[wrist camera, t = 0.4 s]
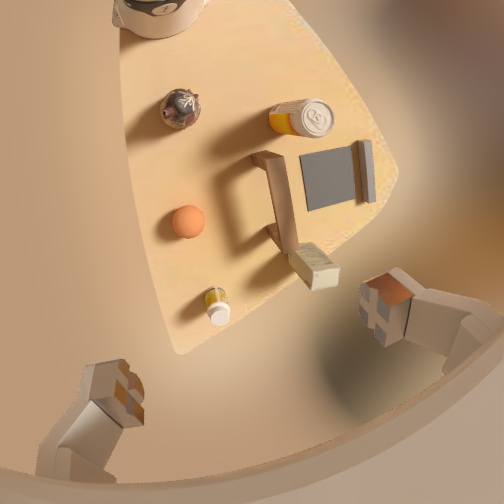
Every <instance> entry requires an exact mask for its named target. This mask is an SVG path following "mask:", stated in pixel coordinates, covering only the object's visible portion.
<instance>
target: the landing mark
mask: <svg viewBox="0 0 504 504" xmlns="http://www.w3.org/2000/svg"><path fill="white" fill-rule="evenodd" d="M300 160H301V166H302V172H303V178H304V184H305V191H306V198H307V204H308V211H312V210H315V209H319V208H323V207H326V206H330V205H333V204H337V203H341V202H344V201H348V200H352V199H355V198H356V192H355V180H354V170H353V160H352V152H351V146H348V147H342V148H337V149H331V150H326V151H321V152H316V153H311V154H306V155H301V156H300Z"/></svg>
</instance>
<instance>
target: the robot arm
mask: <svg viewBox="0 0 504 504" xmlns="http://www.w3.org/2000/svg"><path fill="white" fill-rule="evenodd" d="M211 2H212V0H114V8H113V19H112V23H113V25H114V26H116V27H120V28H127V29H129V30H130V31H132V32H133V33H135V34H136V35H139V36H141V37H145V38H152V39H157V38H165V37H169V36H173V35H175V34H178V33H180V32H182V31H183V30H185V29H187V28H188V27H189V26H190V25H191V24H192V23H193V22H194V21H195V20H196V19H197V17H198V16H199V14H200V12H201V10H202V9H203V8H204V7H205V6H207V5H208V4H209V3H211ZM118 15H119V17H117V16H118ZM359 293H360V294H361V295H362V296H363V297H362V299H361V300H360V302H359V312H360V315H361V318H362V320H363V322H364V323H365V324H366V326H367V327H369V328H372V329H375V334H374V335H375V336H376V338H377V339H378V340H379V341H380V342H381V344H382V345H383V346H384V347H386V346H388V345H391V344H393V343H394V342H397V341H398V340H400V339H402V338H405V339H406V340H408V341H411V342H413V343H415V344H418V345H420V346H422V347H425V348H427V349H429V350H432V351H434V352H436V353H439V354H441V355H443V356H446V357H447V358H446V360H445V363H444V365H443V368H442V372H443V373H444V374H445V376H443V377H442V378H441V379H439V380H438V381H436V382H435V383H434V384H432V385H431V386H429V387H428V388H426V389H425V390H423V391H422V392H420V393H419V394H417V395H415V396H414V397H412V398H411V399H409V400H408V401H406V402H404V403H403V404H401V405H399V406H398V407H396V408H394V409H392V410H391V411H389V412H387V413H385V414H384V415H382V416H380V417H378V418H376V419H374V420H373V421H370V422H368V423H367V424H364V425H362V426H360V427H358V428H356V429H354V430H352V431H350V432H348V433H346V434H344V435H341V436H339V437H337V438H334V439H332V440H330V441H327V442H325V443H322V444H320V445H318V446H315V447H312V448H309V449H307V450H304V451H301V452H298V453H295V454H293V455H290V456H287V457H283V458H281V459H277V460H274V461H271V462H267V463H264V464H261V465H256V466H252V467H249V468H244V469H241V470H236V471H231V472H227V473H222V474H217V475H211V476H205V477H199V478H192V479H185V480H176V481H167V482H154V483H133V484H131V483H130V484H116V478H115V477H114V476H113V475H112V474H110V473H108V472H106V471H105V470H104V467H105V466H106V463H107V461H108V460H109V458H110V456H111V454H112V451H113V450H114V448H115V446H116V444H117V442H118V440H119V438H120V436H121V434H122V432H123V429H124V428H131V427H138V426H143V425H144V409H143V408H142V406H141V403H142V402H143V400H144V389H143V385H142V382H141V380H140V378H139V377H138V376H137V374H135V373H133V372H131V371H129V368H130V366H129V364H128V363H127V362H126V361H125V360H124V359H117V360H113V361H107V362H102V363H97V364H92V365H87V366H86V367H85V368H84V370H83V374H82V378H81V382H80V386H79V391H78V395H77V400H76V402H73V403H72V404H71V405H70V407H69V408H68V409H67V410H66V412H65V413H64V414H63V416H62V417H61V418H60V419H59V421H58V422H57V423H56V424H55V426H54V427H53V428H52V430H51V431H50V432H49V433H48V435H47V436H46V437H45V438H44V440H43V441H42V442H41V444H40V445H39V451H38V457H37V463H36V471H35V475H31V474H27V473H22V472H18V471H14V470H9V469H6V468H3V467H0V504H504V317H503V316H502V315H501V314H500V313H498V312H497V311H496V310H495V309H494V308H493V307H492V306H490V305H489V304H488V303H486V302H485V301H482V300H478V299H474V298H469V297H465V296H461V295H456V294H452V293H448V292H443V291H439V290H435V289H427V290H426V289H425V288H423V287H422V286H421V285H420V284H418V283H417V282H416V281H415V280H413V279H412V278H411V277H410V276H409V275H407V274H406V273H405V272H404V271H402V270H401V269H400V268H396V267H395V268H393V269H391V270H389V271H387V272H385V273H383V274H380V275H378V276H376V277H373V278H371V279H369V280H367V281H364V282H362V283H361V284H360V287H359Z"/></svg>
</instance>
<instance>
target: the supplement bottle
mask: <svg viewBox="0 0 504 504" xmlns="http://www.w3.org/2000/svg"><path fill="white" fill-rule="evenodd" d="M204 299H205V304H206V310H207V314H208V316H209V317H210V320H211V322H212V323H213V324H214V325H216V326H223V325H225V324H227V323H228V322H229V320H230V314H229V313H230V307H229V304H228V301H227V297H226V294H225V291H224V290H223V289H222V288H220V287H211V288H209V289H208V290H207V291H206V292H205V294H204Z"/></svg>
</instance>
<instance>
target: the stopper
mask: <svg viewBox="0 0 504 504" xmlns="http://www.w3.org/2000/svg"><path fill="white" fill-rule="evenodd" d="M357 142H358V151H359V160H360V170H361V182H362V196H363V201H365V202H367V203H372V202H376V194H375V177H374V164H373V153H372V143H371V140H366V139H363V140H357Z"/></svg>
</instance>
